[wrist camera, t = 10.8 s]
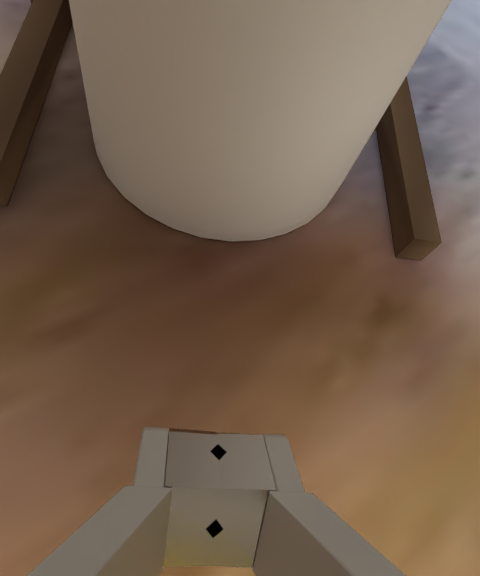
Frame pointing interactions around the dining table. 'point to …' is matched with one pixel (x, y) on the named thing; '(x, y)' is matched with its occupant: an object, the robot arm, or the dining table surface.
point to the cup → (241, 101)
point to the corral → (40, 69)
